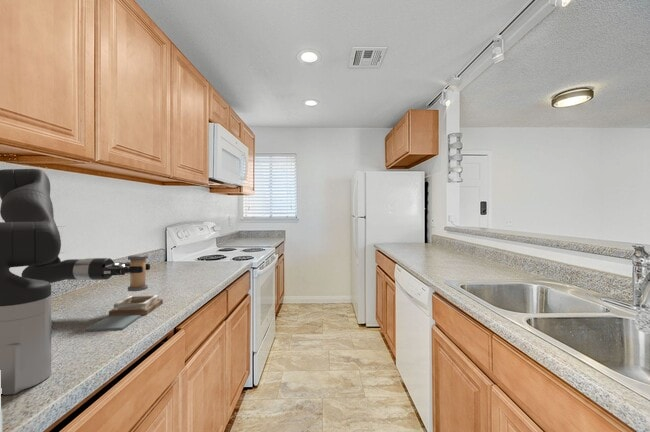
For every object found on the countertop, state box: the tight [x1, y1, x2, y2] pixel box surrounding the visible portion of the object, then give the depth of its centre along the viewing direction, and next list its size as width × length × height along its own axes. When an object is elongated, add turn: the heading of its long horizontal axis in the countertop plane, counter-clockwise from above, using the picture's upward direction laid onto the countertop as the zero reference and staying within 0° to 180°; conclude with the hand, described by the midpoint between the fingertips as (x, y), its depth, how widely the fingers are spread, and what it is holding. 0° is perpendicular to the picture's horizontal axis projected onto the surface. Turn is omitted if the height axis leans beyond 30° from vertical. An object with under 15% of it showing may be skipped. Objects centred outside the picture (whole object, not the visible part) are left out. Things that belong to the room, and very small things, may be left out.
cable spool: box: [127, 254, 149, 292], centre depth 100 cm, size 6×6×12 cm
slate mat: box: [86, 315, 142, 332], centre depth 88 cm, size 10×10×1 cm
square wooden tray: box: [108, 294, 164, 316], centre depth 101 cm, size 12×12×4 cm
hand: (145, 268), depth 101 cm, fingers closed on cable spool, 4 cm apart
